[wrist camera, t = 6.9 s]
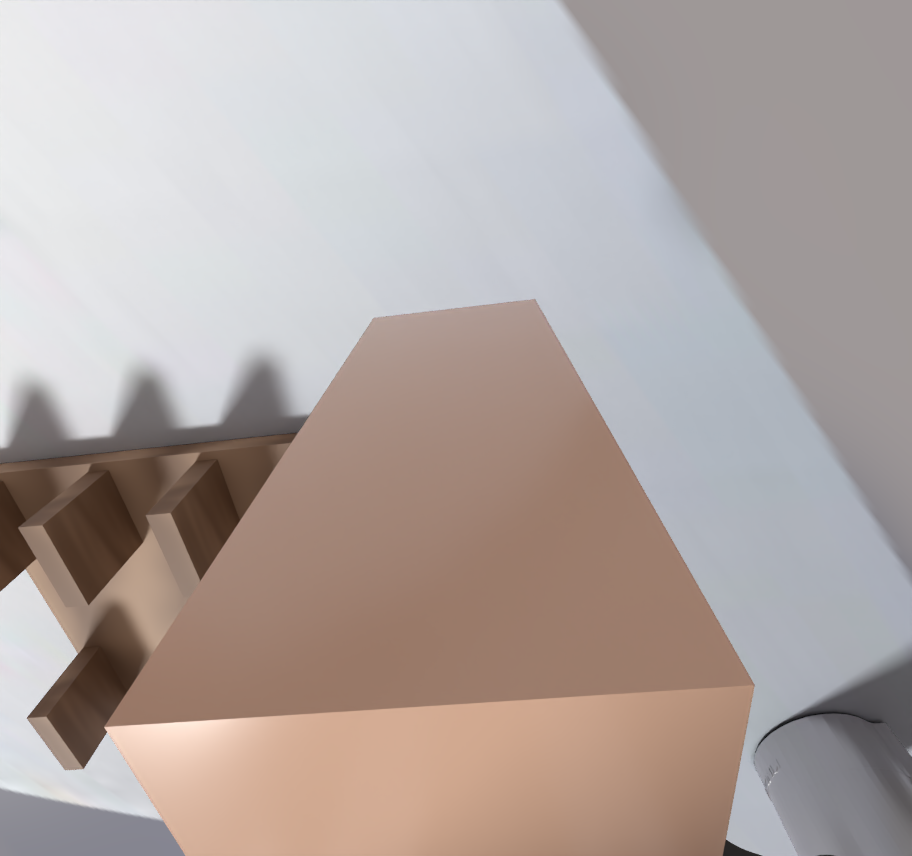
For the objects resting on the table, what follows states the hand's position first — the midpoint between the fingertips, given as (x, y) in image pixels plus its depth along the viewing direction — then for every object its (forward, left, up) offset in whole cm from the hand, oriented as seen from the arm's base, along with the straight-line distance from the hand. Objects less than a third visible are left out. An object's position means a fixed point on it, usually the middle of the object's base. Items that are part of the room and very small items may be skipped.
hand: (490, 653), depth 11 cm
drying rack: (+18, +12, -18) cm, 28 cm away
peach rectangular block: (0, 0, -2) cm, 2 cm away
